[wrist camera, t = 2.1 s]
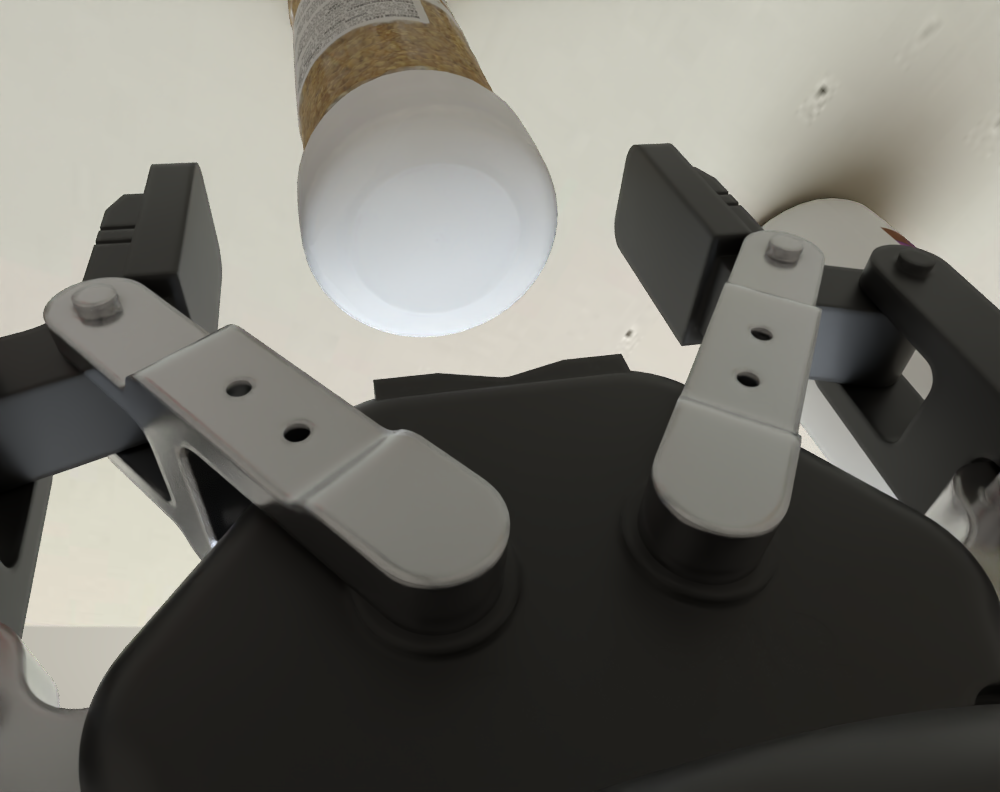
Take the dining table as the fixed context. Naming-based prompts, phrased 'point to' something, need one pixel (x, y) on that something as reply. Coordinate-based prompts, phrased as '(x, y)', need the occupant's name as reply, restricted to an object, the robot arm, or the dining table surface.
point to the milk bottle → (846, 243)
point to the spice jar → (412, 170)
